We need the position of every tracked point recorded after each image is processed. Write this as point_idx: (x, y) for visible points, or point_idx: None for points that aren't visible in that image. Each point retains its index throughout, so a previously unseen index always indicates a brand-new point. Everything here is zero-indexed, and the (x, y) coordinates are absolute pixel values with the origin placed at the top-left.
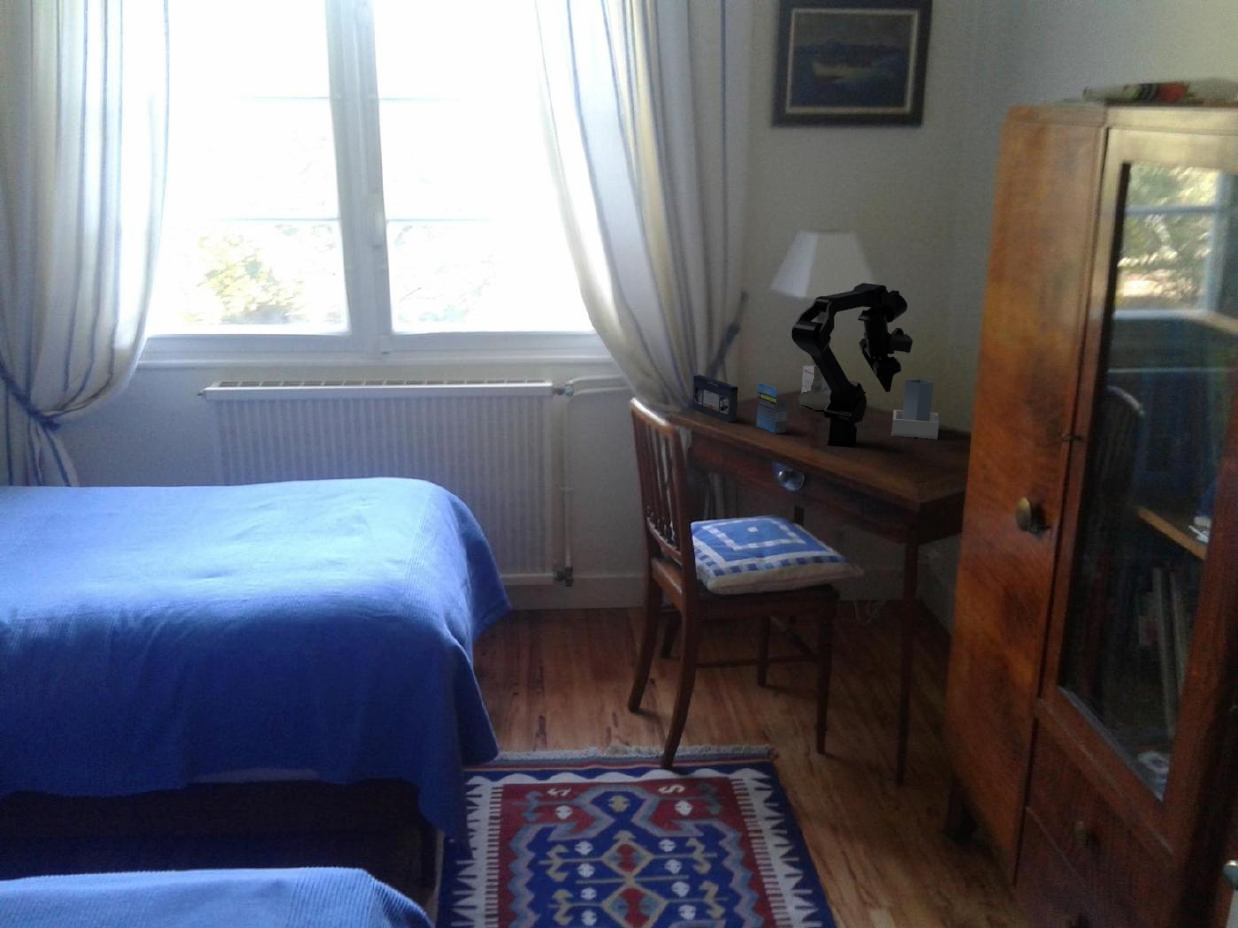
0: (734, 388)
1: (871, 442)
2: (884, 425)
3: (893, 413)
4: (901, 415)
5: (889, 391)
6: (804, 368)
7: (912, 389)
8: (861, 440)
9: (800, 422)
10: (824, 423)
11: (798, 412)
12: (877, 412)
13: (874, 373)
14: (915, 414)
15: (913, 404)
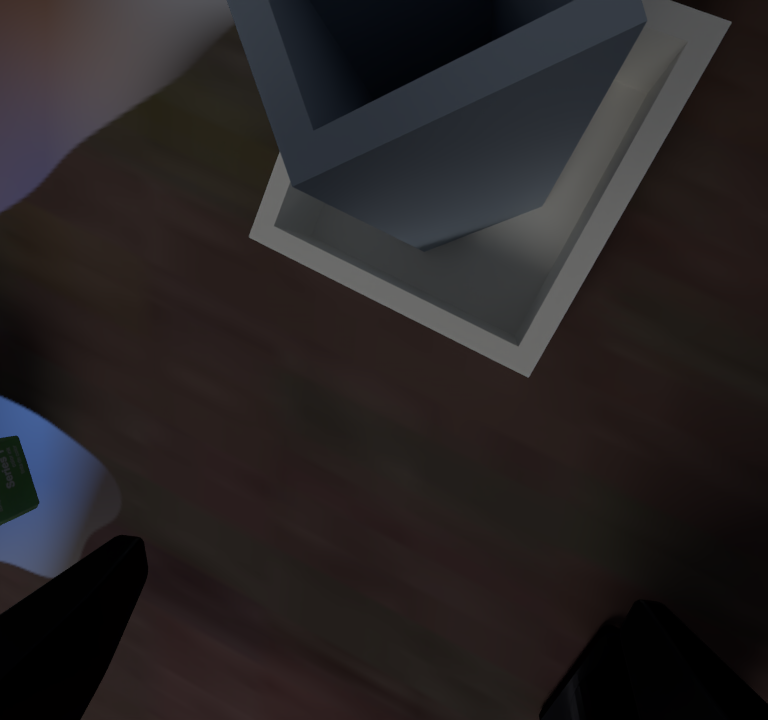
0: None
1: (652, 544)
2: (293, 292)
3: (353, 289)
4: (300, 197)
5: (662, 611)
6: None
7: (472, 146)
8: (595, 575)
9: (218, 667)
10: (239, 576)
11: None
12: (42, 211)
13: (105, 667)
14: (545, 182)
15: (516, 178)
